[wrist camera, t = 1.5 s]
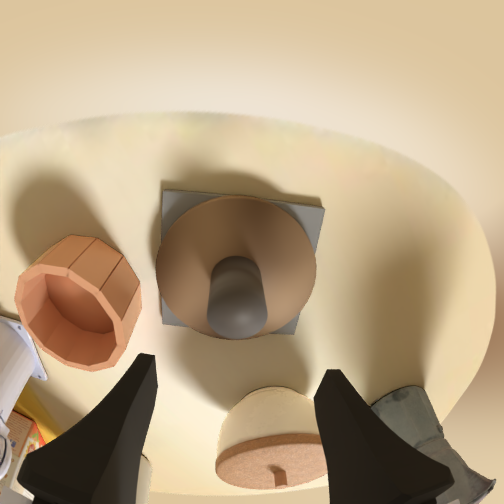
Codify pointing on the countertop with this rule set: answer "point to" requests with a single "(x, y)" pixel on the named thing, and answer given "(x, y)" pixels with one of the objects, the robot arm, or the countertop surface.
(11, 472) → the cracker box
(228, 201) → the lid
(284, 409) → the lidded jar
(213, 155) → the countertop surface
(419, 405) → the moka pot
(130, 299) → the planter
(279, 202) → the mat
